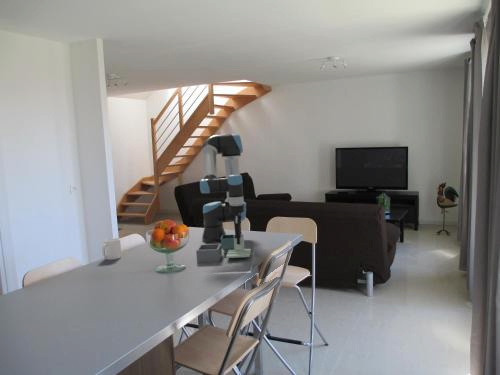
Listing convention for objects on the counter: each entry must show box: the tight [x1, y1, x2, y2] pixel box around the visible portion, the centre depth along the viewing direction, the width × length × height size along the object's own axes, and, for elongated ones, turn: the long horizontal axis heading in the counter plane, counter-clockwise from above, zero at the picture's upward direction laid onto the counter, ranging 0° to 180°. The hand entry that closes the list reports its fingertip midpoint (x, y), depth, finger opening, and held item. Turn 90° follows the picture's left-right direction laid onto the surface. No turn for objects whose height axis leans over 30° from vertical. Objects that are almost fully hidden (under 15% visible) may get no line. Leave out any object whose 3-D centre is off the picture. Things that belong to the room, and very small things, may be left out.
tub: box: [195, 243, 223, 264], centre depth 209 cm, size 12×11×7 cm
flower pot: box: [220, 234, 235, 254], centre depth 223 cm, size 9×9×9 cm
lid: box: [225, 233, 252, 259], centre depth 208 cm, size 13×12×10 cm
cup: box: [101, 237, 123, 261], centre depth 224 cm, size 8×12×10 cm
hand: (239, 249), depth 213 cm, fingers closed on lid, 2 cm apart
